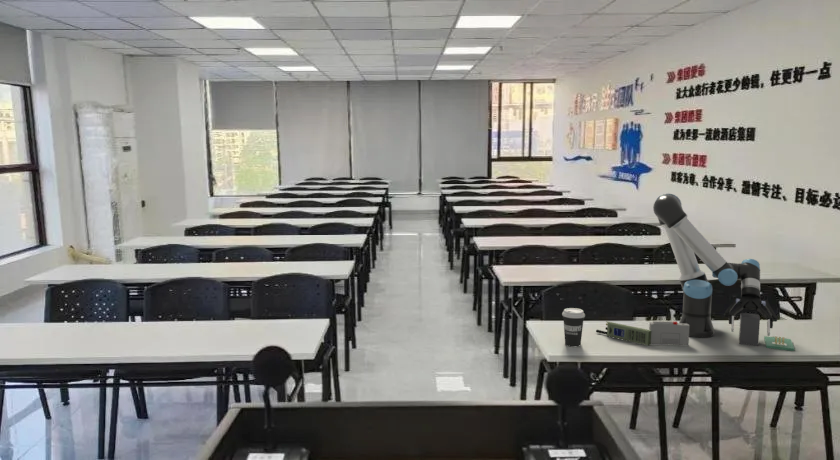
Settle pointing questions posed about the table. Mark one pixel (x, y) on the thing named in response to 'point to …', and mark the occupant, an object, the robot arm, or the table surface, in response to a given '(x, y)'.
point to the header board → (778, 343)
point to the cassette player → (669, 333)
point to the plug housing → (749, 329)
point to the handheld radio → (627, 333)
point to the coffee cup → (573, 326)
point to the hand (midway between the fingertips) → (750, 332)
